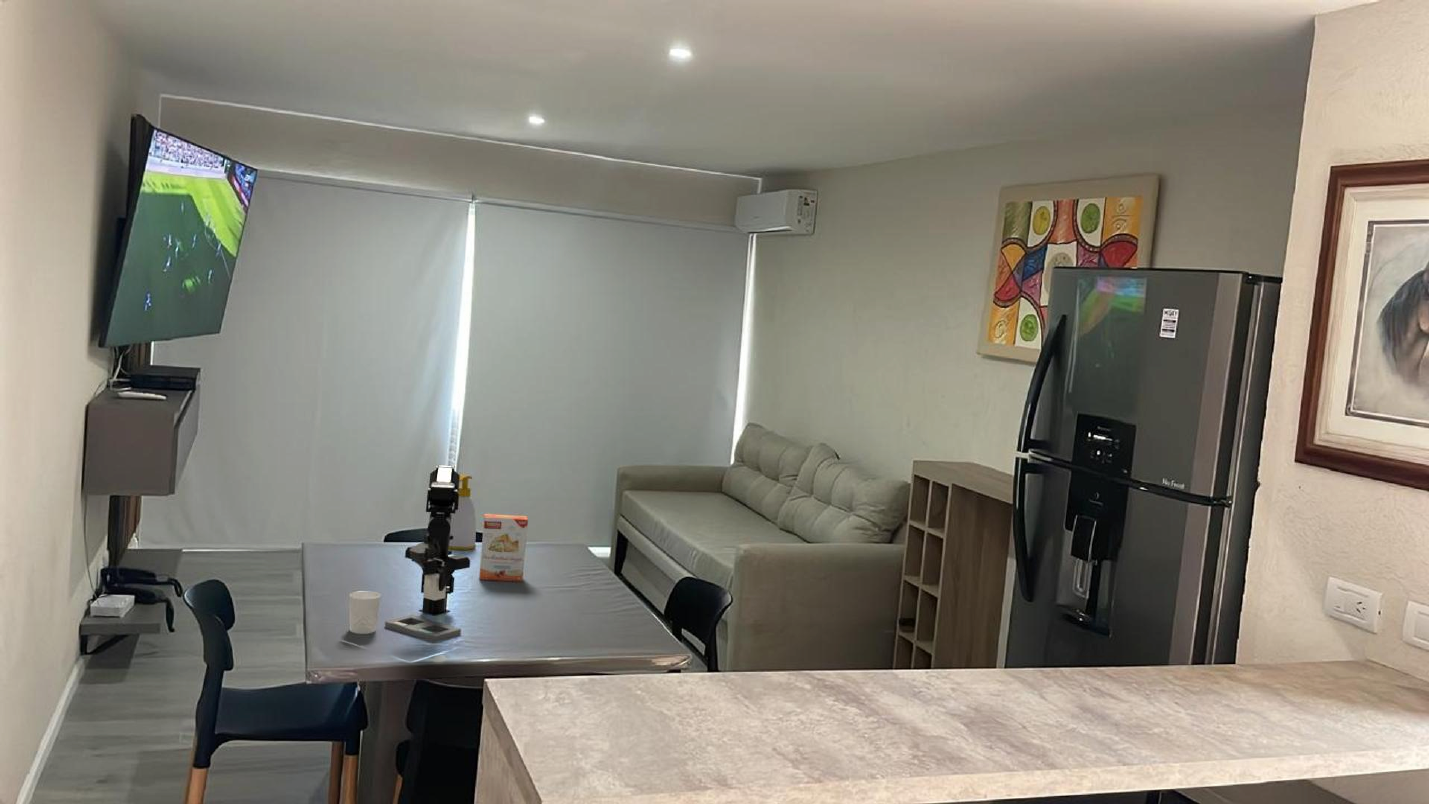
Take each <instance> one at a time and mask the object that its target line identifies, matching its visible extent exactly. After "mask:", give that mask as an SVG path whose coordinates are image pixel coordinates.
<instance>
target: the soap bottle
mask: <svg viewBox="0 0 1429 804" xmlns="http://www.w3.org/2000/svg"><path fill="white" fill-rule="evenodd" d="M469 479H470V480H473V477H472V476H470V475H465V474H464V475H463V474H460V481H459V483H461V486H459V493H458V494H459V503H458V510H456V512H455V514H453V513H451V515H452V518H451V531H450V535H453V540H450V544H449V550H453V551H454V550H455V551H468V550H469V551H470V550H474V549H475V548H476V546H477V544H476V536H477V534H476V533H477V531H476V530H477V529H476V528H477V526H476V525H477V522H476V509H475V505H474V501H473V498H472V497H471V491H472V488H471V487H470V486H469V487H468V485H469ZM452 509H454V504H453V507H452Z"/></svg>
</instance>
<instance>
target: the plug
mask: <svg viewBox="0 0 1429 804" xmlns="http://www.w3.org/2000/svg"><path fill="white" fill-rule="evenodd" d="M445 592H446V586H445V588H444V589H443V591H439V574H437V573H434V574H429V575H425V581H424V593H423V596H422V597H423V598H427V599H431V600H438V599H443V598H445Z"/></svg>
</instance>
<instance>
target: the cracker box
mask: <svg viewBox="0 0 1429 804" xmlns="http://www.w3.org/2000/svg"><path fill="white" fill-rule="evenodd" d="M483 518H484V519H483V529H482V542H481V552H480V554H481V555H480V562H479V563H480V564H479V573H478V574H479V577H478V578H479V579H478V580H480V581H482V580H483V581H500V582H501V581H502V582H519V583H522V582H523V579H524V578H523V577H524V569H525V568H524V567H525V556H526V545H527V534H528V524H529V519H528V516H527V515H511V514H510V515H509V514H496V513H495V514H493V513H484V517H483Z"/></svg>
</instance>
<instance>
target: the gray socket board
mask: <svg viewBox="0 0 1429 804" xmlns="http://www.w3.org/2000/svg"><path fill="white" fill-rule="evenodd" d="M384 628H386V629H388V630H389V629H390V630H392V631H394V632H395V631H396V632H400V633H403V634H404V635H405V634H406V635H409V636H412V637H416V638H418V639H422V640H426V641H429V642H432V643H436V642H440V641H444V640H446V639H450V638H454V637H457V636H460V635H461V634H462V633H461V632H462V629H461V628H459V627H455V626H452V625H449V624H446V623H442V622H440V621H436V620H431V619H428V618H424V617H421V616H418V615H414V614H410V615H405V616H402V617H397V618H394V619H390V620H387V621H385V622H384Z"/></svg>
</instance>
